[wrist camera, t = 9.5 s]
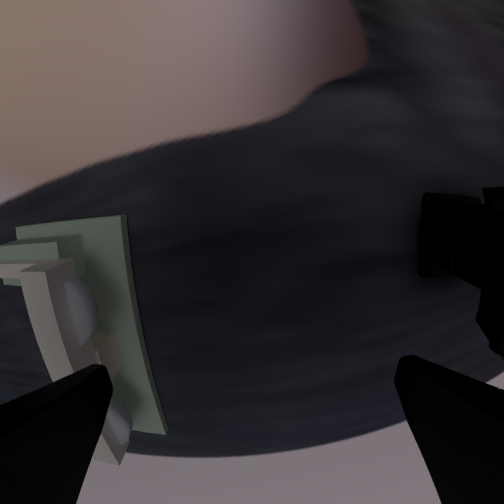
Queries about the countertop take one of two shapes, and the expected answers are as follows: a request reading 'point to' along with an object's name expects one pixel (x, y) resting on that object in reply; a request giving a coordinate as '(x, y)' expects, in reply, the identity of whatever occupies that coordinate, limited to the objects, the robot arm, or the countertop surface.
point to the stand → (102, 303)
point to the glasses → (68, 334)
